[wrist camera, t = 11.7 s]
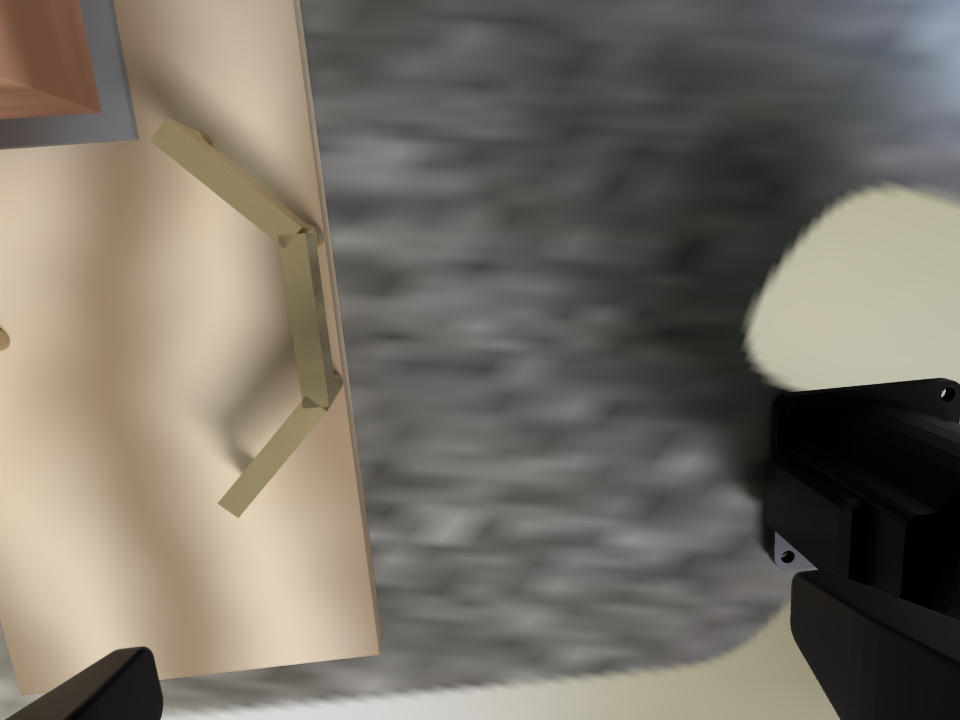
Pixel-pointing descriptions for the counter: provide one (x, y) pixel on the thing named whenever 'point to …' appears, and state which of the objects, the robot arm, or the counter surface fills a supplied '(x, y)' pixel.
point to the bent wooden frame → (300, 290)
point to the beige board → (170, 366)
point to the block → (45, 60)
